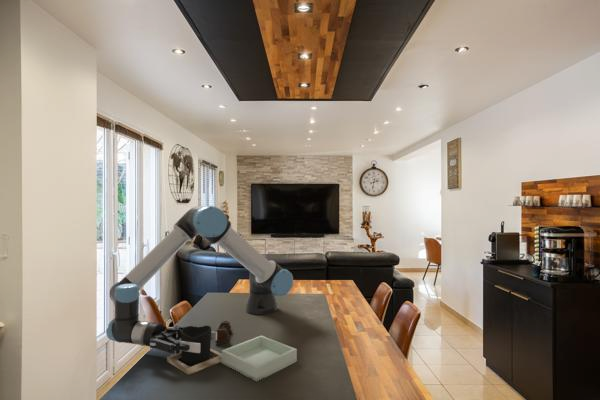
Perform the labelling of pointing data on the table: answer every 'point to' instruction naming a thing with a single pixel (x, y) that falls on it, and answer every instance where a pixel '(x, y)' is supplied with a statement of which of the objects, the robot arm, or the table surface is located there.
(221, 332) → the bolt
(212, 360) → the square wooden frame
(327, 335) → the table surface
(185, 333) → the pen holder
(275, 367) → the bin
